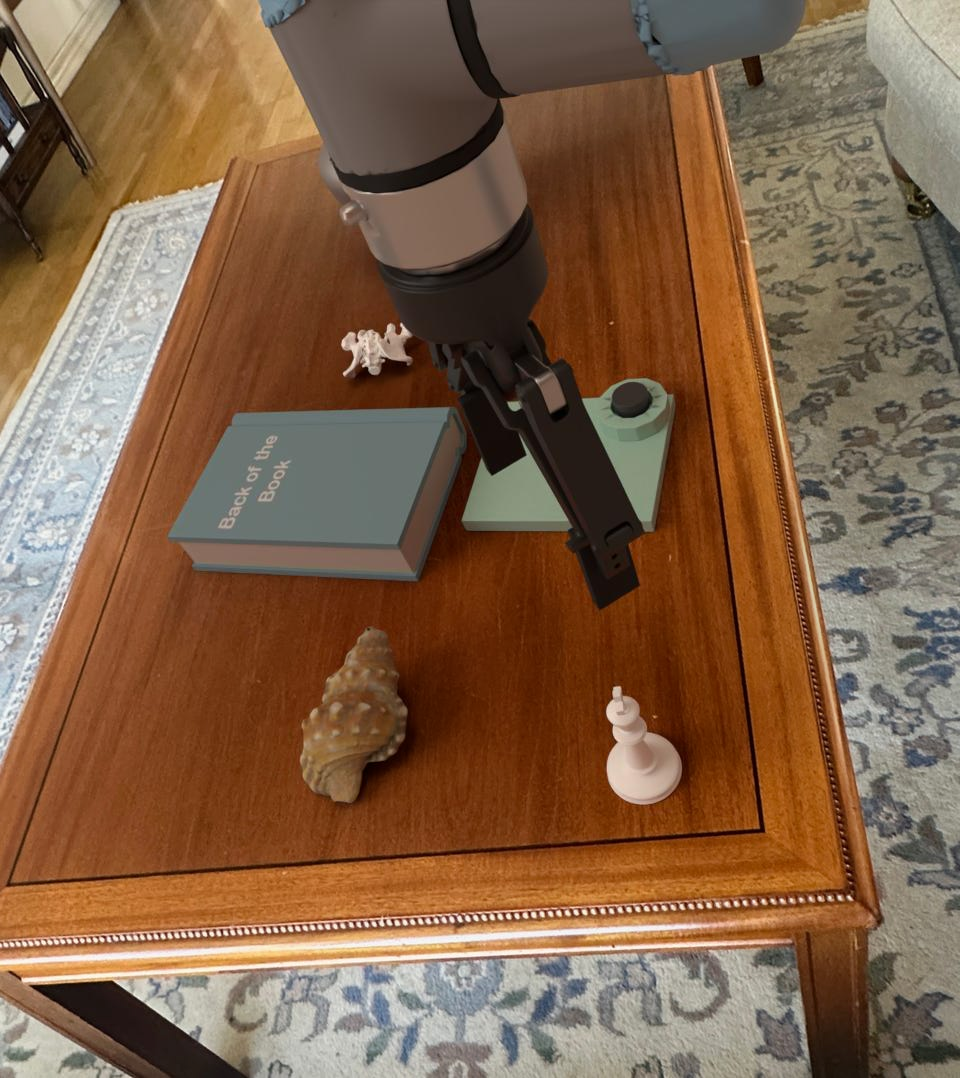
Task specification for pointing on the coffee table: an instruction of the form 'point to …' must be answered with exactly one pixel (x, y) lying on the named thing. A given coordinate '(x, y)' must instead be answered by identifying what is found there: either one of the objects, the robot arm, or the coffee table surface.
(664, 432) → the scale
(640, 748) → the chess piece
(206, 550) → the book
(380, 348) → the pelvis model
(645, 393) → the button
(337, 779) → the seashell
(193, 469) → the coffee table surface
